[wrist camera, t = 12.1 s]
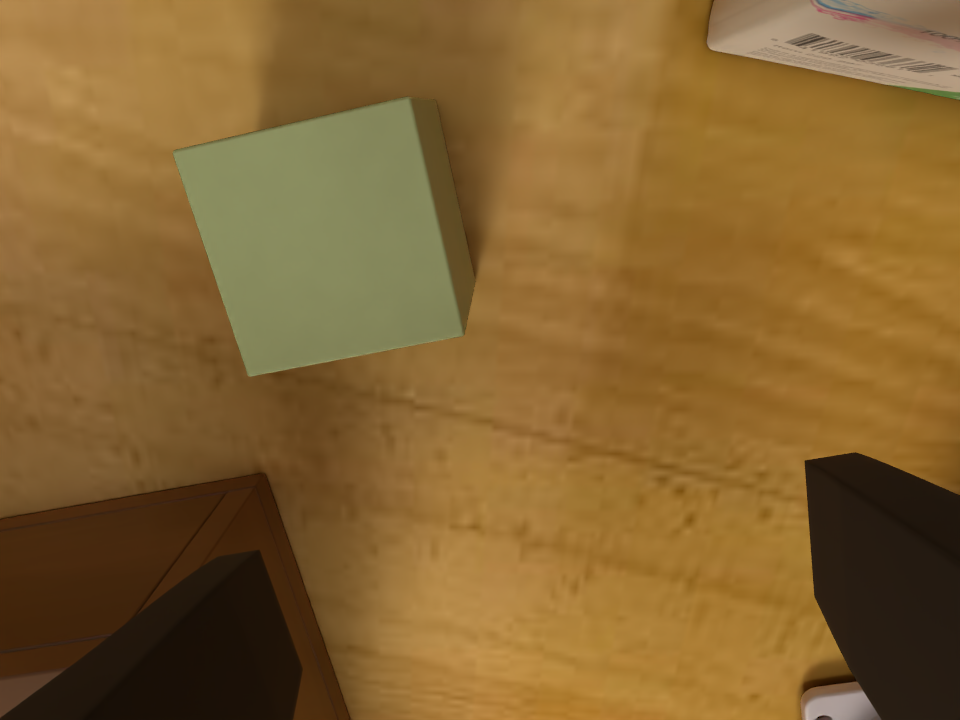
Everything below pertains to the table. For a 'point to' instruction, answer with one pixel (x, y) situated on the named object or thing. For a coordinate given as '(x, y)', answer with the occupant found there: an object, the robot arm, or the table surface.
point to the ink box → (848, 38)
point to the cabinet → (140, 579)
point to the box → (333, 234)
